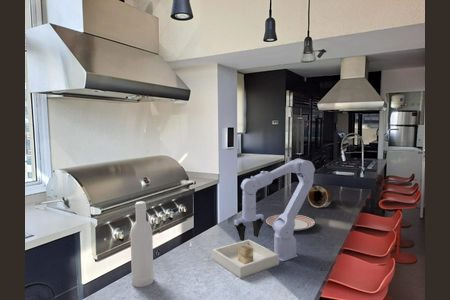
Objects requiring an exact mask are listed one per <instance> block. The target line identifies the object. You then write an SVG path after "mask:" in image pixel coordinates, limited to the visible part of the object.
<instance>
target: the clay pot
mask: <svg viewBox="0 0 450 300" xmlns="http://www.w3.org/2000/svg"><path fill="white" fill-rule="evenodd" d="M307 199H308V202H309V204H310V206H312V207H314V208H319V209H320V208H327V207H328V206H329V205H330V204H331V203H332V201H333V199H334V193H333V192H332V190H331V189H330V188H328V187H326V186H324V185H314V186H312V187H311V189H310V191H309V193H308V195H307ZM322 200H323V201H322Z"/></svg>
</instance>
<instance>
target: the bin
mask: <svg viewBox="0 0 450 300" xmlns="http://www.w3.org/2000/svg"><path fill="white" fill-rule="evenodd" d="M246 244H247V245H249V246H250V247H252V248H253V262H251V263H248V264H245V265H244V264H243V263H241V262H240V261H238V247H239V246H243V245H246ZM211 250H212V251H211V253H212V261H214V262H215V263H217V264H219V265H220V266H221V267H222V268H224V269H225V270H227V271H229V272H230V273H231V274H233V275H234V276H236V278H238V279H240V280H241V279H244V278H245V279H246V278H247V277H249V276H253V275H255V274H256V275H257V274H258V273H261V272H263V271H266V270H269V269H273V268H274V267H278V266H279V265H280V260H279V254H277V253H275V252H274V250H272V249H269V248H267V247H264V246H263V245H261V244H259V243H257V242H254V241H253V240H251V239H246V240H245V239H244V241H241V240H240V241H238V242H235V243H230V244H228V245H224V246H220V247H216V248H213V249H211Z"/></svg>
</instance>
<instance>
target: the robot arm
mask: <svg viewBox="0 0 450 300" xmlns="http://www.w3.org/2000/svg"><path fill="white" fill-rule="evenodd" d="M315 171H316V168H315V165H314V163H313V162H312V161H310V160H305V159H302V158H295V159H293V160H290V161H288V162H287V163H284V164H282V165H281V166H279V167H277V168H275V169H273V170H271V171H267V170H266V171H265V170H262V171H260V173H258V174H256V175H254V176H253V175H251V176H250V178H244V179H243V180H242V182H241V184H240V189H241V190H242V196H241V197H242V201H241V202H242V204H241V205H242V206H241V207H242V209H241V210H242V212H241V213H242V214H241V216H240V217H239V218H237V219H233V224H234V227H235V229H236V231H237V233H238V236H239V237H238V238H239V240H240V242H241V241H245V238H246V237H245V236H246V235H245V234H246V228H247V226H246V225H245V224H247V223H251V222H252V228H253V237H255V238H258V237H259V234H260V231H261V228H262V226H263V224H264V214H262V213H260V214H259V213H258V214H257V196H256V195H257V192H258V190H260V189H262V188H264V187H266V186H269V185H271V184H272V183H273V180H274V179H277V178H280V177H283V176H285V175H287V174H289V173H291V174H292V173H293V174H296V176H297V178H298V181H299V183H298V184H297V186H296V188H295V190H294V191H293V194H292V195H291V197H290V200H289V201H288V204H287V205H286V207H285V209H284V211H283V213H281V214H278V215H279V217H278V219H276V220H275V221H274V222H273V226H272V230H273V231H274V235H273V236H274V237H273V238H274V239H273V243H274V244H273V246H274V247H273V248H274V249H273V252H275V253H277V254H279V262H280V261H281V262H285V261H289V260H291V259H294V258H297V257H298V254H297V239H296V237H295V236H294V232H295V231H294V227H295V218H296V216H297V215H299V214H298V213H299V211H300V210H301V208H302V207H303V204H304V202H305V200H306V198H307V197H308V193H309V191H310V189H311V188H312V187H313V184H314V180H315V179H314V174H315Z"/></svg>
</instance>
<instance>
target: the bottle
mask: <svg viewBox="0 0 450 300" xmlns="http://www.w3.org/2000/svg"><path fill="white" fill-rule="evenodd" d="M134 208H135V222H134V223H133V224H132V226H131V228H130V231H129V232H130V233H129V235H130V257H131V258H130V259H131V260H130V263H131V267H130V268H131V284H132V285H133V287H136V288H145V287H149V286H150V285H151V284H153V282H154V281H155V280H154V279H155V278H154V274H155V273H154V243H153V241H154V239H153V229H152V225H151V223H150V222H149V221H147V203H146V202H145V201H143V200H142V201H136V203H134Z"/></svg>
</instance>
